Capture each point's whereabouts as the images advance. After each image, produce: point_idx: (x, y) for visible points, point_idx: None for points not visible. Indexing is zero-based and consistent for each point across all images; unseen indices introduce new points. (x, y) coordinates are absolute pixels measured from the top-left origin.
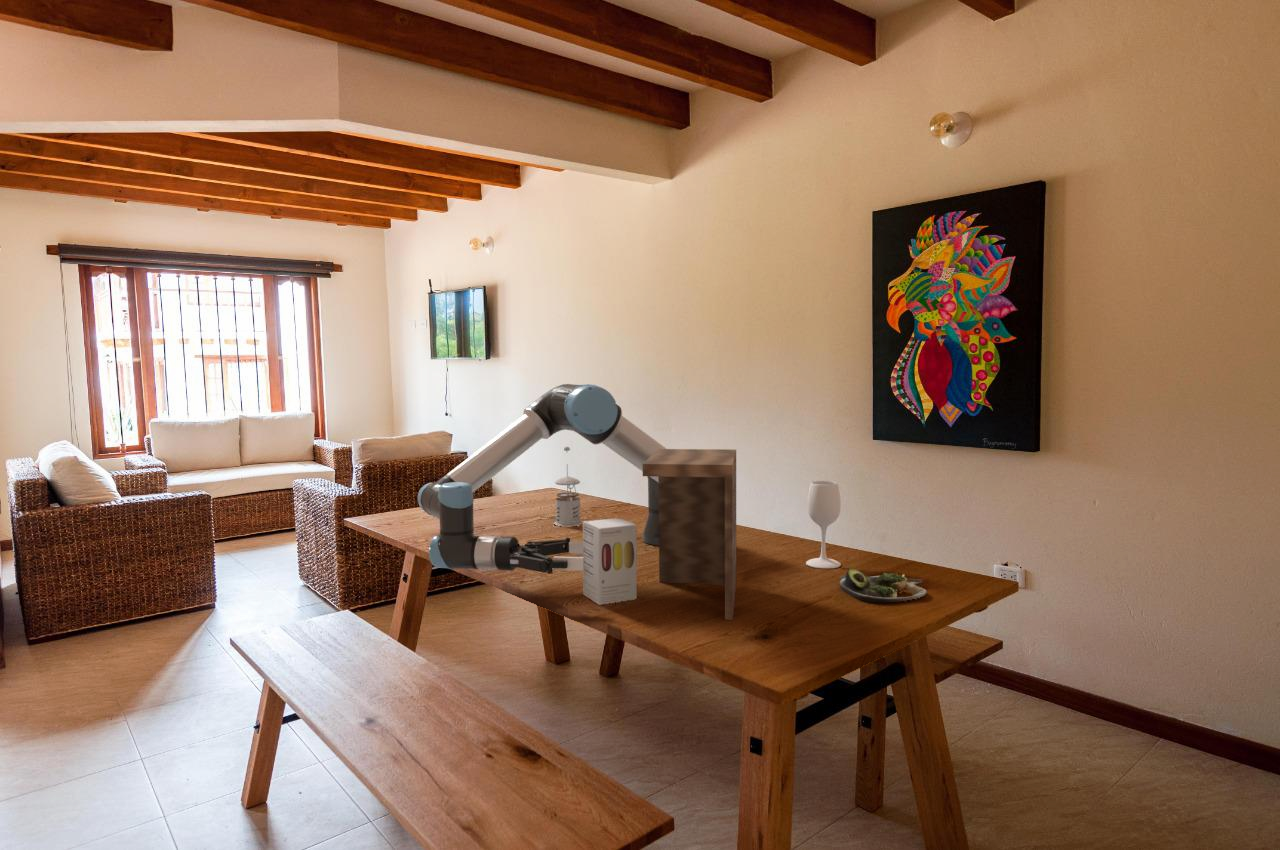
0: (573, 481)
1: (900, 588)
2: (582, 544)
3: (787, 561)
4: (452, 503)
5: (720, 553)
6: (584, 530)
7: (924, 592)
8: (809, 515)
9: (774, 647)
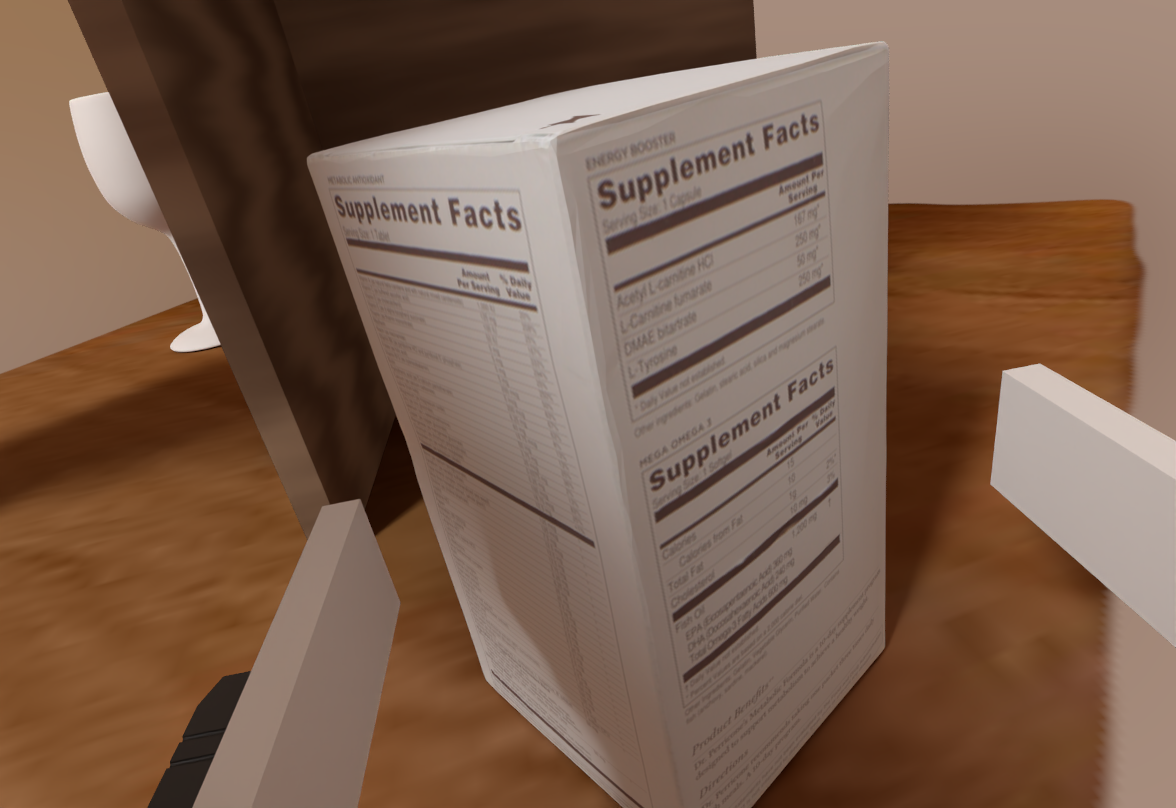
0: None
1: None
2: (325, 641)
3: (156, 376)
4: None
5: None
6: (636, 247)
7: None
8: (148, 203)
9: (904, 245)
